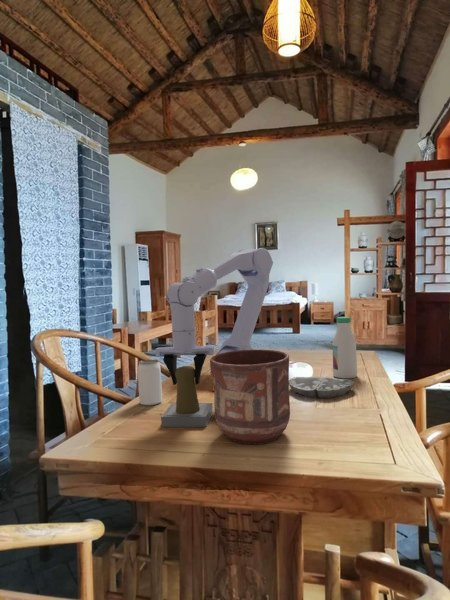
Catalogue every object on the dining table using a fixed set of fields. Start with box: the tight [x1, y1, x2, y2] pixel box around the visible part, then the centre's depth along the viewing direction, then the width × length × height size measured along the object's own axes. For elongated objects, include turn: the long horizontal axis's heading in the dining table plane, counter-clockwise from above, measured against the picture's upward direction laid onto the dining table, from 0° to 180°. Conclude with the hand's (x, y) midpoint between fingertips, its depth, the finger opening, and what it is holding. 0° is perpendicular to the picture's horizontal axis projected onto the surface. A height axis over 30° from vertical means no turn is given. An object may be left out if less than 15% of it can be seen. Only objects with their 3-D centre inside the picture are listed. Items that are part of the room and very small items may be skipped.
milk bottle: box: [332, 316, 358, 380], centre depth 152 cm, size 8×8×20 cm
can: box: [137, 359, 163, 407], centre depth 131 cm, size 6×6×12 cm
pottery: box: [209, 349, 291, 445], centre depth 102 cm, size 18×18×18 cm
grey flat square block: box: [160, 402, 214, 428], centre depth 115 cm, size 11×11×3 cm
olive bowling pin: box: [175, 365, 200, 414], centre depth 114 cm, size 6×6×11 cm
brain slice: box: [289, 376, 355, 399], centre depth 135 cm, size 20×17×3 cm
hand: (186, 383), depth 115 cm, fingers closed on olive bowling pin, 5 cm apart
